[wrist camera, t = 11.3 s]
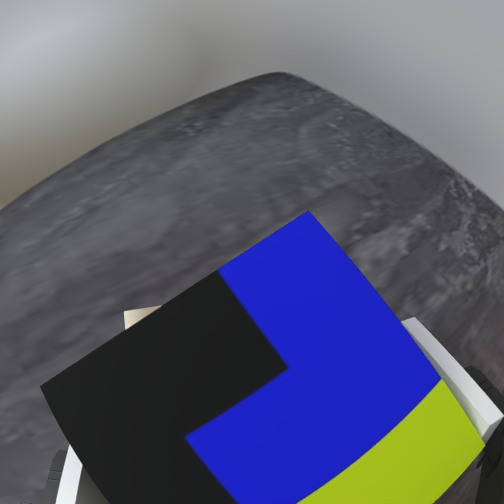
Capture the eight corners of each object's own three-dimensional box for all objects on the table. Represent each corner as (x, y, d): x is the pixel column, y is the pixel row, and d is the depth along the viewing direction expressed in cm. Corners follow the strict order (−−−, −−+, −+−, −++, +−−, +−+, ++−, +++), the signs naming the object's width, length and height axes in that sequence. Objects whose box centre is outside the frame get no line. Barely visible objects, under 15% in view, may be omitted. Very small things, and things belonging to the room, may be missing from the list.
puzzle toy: (279, 295, 19) (308, 210, 10) (378, 423, 16) (485, 445, 7) (139, 388, 17) (40, 386, 7) (240, 519, 14) (233, 621, 4)
